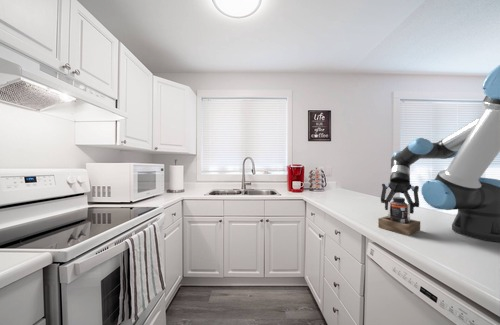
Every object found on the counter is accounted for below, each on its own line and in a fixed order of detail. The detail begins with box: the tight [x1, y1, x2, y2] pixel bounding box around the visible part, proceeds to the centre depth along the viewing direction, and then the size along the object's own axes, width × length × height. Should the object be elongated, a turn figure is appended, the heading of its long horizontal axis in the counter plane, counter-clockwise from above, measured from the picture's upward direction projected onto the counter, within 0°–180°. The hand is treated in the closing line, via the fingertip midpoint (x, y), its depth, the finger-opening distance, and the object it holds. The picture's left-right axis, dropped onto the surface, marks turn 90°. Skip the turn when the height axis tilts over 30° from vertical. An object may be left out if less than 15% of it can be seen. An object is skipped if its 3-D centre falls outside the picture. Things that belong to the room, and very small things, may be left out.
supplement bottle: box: [390, 196, 408, 224], centre depth 81 cm, size 6×6×11 cm
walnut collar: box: [377, 215, 421, 237], centre depth 81 cm, size 11×11×4 cm
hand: (398, 217), depth 78 cm, fingers closed on supplement bottle, 6 cm apart
